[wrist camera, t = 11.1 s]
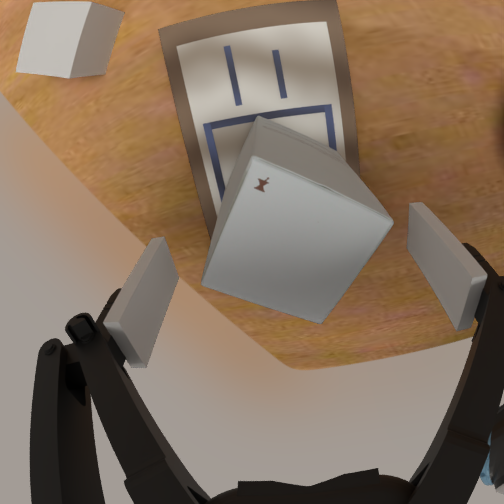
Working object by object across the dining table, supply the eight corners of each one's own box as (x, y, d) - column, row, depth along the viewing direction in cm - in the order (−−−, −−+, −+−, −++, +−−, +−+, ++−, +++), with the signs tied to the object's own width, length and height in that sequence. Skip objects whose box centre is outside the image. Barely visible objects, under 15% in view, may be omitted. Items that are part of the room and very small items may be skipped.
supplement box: (222, 192, 26) (193, 286, 16) (257, 112, 23) (251, 149, 12) (300, 225, 28) (320, 329, 17) (340, 151, 24) (399, 221, 13)
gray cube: (72, 9, 18) (33, 2, 13) (125, 12, 19) (92, 1, 14) (55, 67, 21) (15, 72, 16) (105, 74, 22) (69, 78, 17)
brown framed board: (359, 254, 31) (362, 261, 30) (223, 272, 32) (221, 280, 31) (333, 1, 18) (336, -2, 17) (161, 30, 20) (156, 29, 19)
